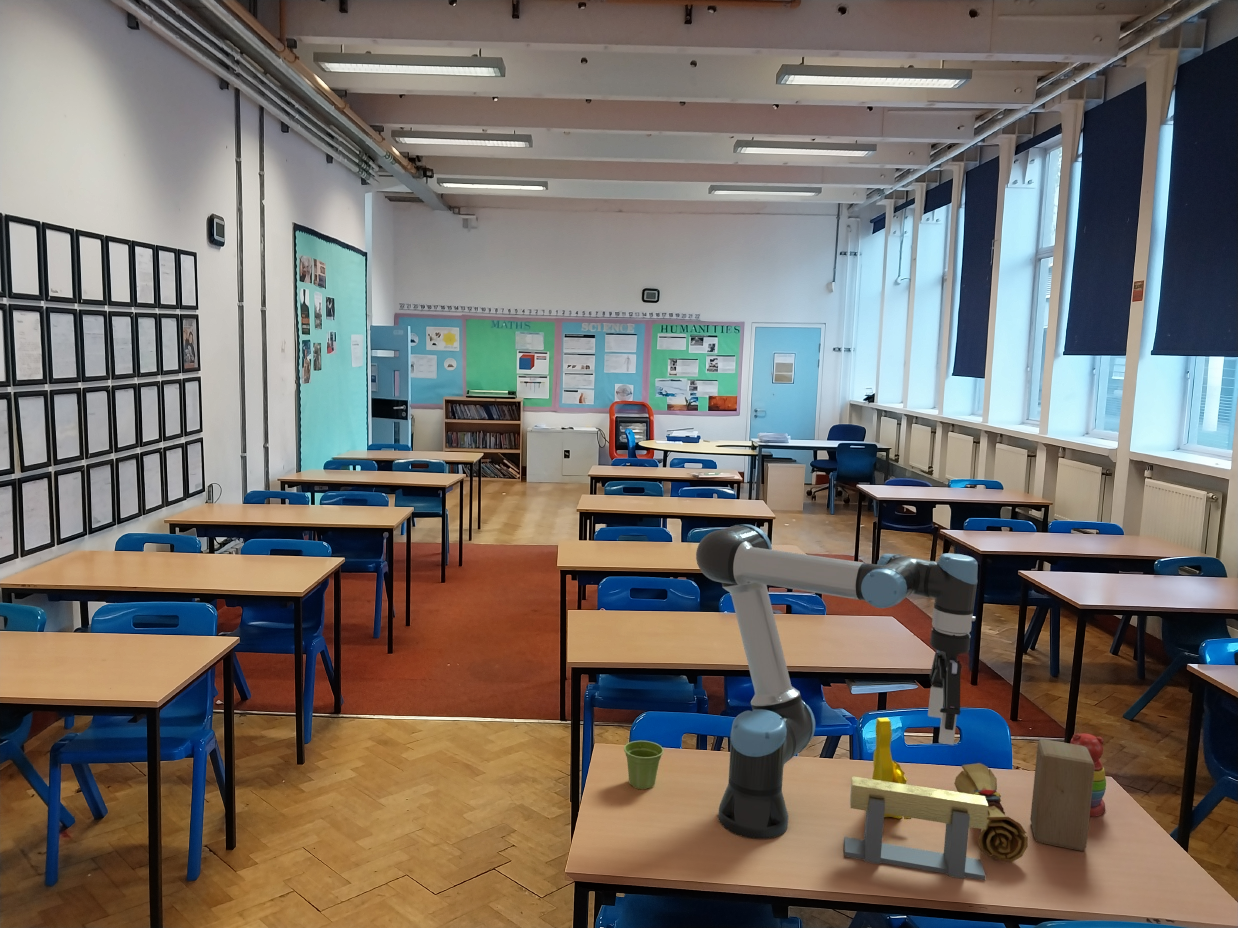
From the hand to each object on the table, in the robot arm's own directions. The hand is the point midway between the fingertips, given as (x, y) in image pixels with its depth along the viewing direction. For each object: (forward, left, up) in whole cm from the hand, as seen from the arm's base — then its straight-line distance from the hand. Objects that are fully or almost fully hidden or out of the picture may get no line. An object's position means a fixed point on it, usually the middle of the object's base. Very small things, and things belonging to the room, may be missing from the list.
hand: (940, 729), depth 176 cm
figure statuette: (-8, +14, -27) cm, 31 cm away
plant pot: (-64, +9, -27) cm, 70 cm away
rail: (-4, -5, -16) cm, 18 cm away
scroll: (+13, +13, -27) cm, 32 cm away
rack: (-4, -5, -26) cm, 27 cm away
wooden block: (+28, +15, -27) cm, 41 cm away
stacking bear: (+37, +32, -27) cm, 56 cm away
